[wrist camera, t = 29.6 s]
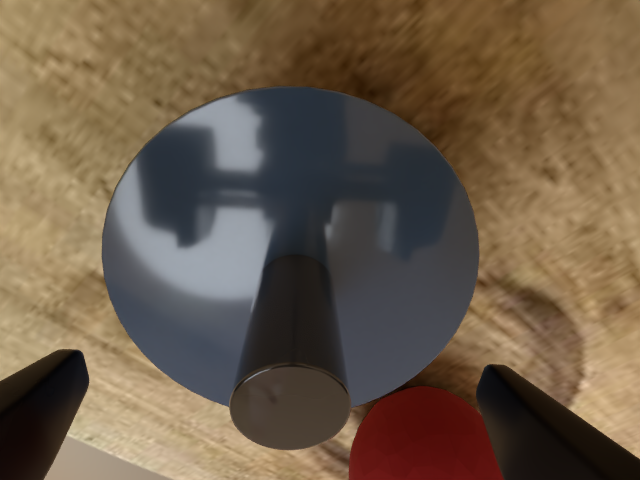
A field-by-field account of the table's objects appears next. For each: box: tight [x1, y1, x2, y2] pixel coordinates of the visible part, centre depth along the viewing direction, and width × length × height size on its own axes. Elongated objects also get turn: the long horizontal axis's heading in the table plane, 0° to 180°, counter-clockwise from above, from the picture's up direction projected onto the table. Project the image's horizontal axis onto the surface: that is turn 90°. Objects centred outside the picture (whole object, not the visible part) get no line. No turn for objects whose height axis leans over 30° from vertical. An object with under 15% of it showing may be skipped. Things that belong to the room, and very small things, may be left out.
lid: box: [102, 86, 479, 450], centre depth 9 cm, size 12×12×6 cm
